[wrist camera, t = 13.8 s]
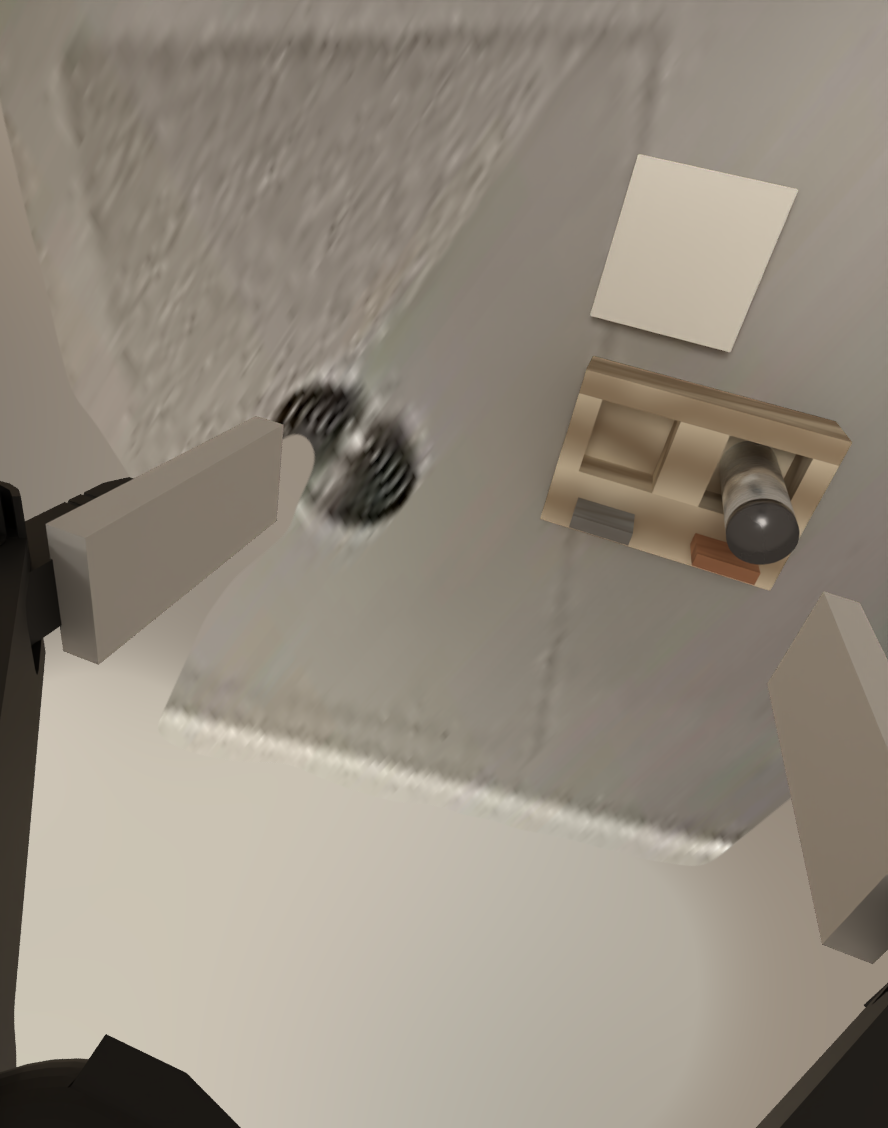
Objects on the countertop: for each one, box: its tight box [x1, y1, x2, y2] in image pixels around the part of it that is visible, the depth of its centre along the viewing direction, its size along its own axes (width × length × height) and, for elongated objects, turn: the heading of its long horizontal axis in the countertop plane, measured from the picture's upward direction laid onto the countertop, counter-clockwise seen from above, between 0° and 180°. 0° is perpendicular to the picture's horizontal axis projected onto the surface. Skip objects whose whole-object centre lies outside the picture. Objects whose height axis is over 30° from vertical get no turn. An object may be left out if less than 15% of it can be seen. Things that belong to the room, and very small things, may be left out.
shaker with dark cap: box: [719, 441, 800, 565], centre depth 45 cm, size 4×4×12 cm
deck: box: [590, 154, 799, 352], centre depth 45 cm, size 10×10×2 cm
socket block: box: [540, 356, 852, 591], centre depth 48 cm, size 12×18×8 cm, turn 78°
